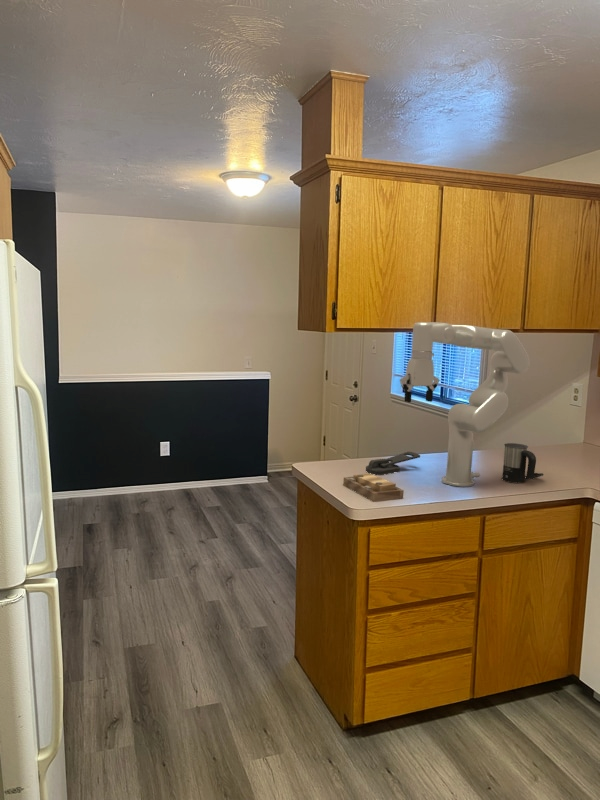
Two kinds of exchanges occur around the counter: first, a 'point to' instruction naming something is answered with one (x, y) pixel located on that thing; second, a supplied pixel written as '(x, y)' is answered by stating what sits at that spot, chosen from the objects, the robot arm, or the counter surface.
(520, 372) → the robot arm
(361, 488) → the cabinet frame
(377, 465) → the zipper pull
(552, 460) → the counter surface
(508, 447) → the milk frother
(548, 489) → the counter surface
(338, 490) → the counter surface
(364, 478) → the tan rectangular block
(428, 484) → the counter surface
